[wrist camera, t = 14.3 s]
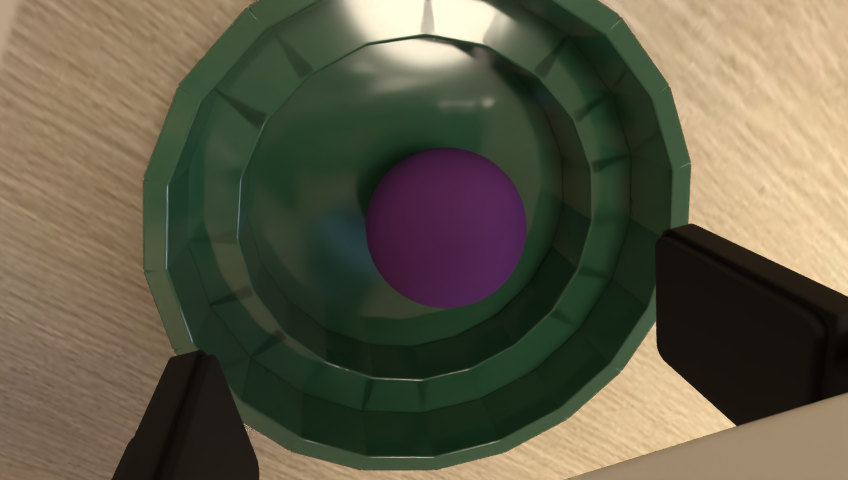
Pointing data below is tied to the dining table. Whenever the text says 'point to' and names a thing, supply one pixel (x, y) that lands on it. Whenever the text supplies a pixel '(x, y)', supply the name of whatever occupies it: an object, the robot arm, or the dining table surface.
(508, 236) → the ball
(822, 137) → the dining table surface
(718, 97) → the dining table surface
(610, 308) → the bowl
